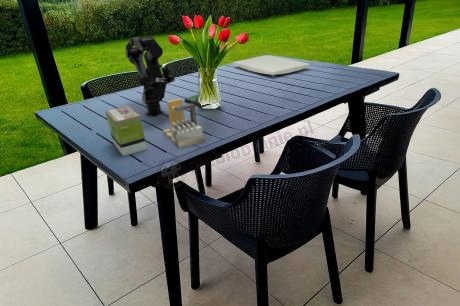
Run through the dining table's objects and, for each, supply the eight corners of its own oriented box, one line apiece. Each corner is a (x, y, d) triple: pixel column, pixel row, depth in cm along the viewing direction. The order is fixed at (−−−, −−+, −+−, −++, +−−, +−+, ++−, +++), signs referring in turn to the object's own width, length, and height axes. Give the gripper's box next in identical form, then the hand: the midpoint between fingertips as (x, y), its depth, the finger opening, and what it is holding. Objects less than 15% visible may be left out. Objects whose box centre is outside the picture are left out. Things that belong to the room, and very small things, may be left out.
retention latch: (170, 129, 152) (165, 100, 146) (183, 126, 155) (179, 97, 149) (175, 134, 148) (170, 104, 142) (188, 130, 150) (184, 101, 145)
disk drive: (216, 103, 188) (199, 98, 198) (216, 98, 187) (198, 93, 197) (200, 109, 182) (184, 103, 192) (200, 103, 181) (183, 98, 191)
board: (233, 68, 258) (232, 62, 256) (268, 61, 273) (268, 55, 271) (271, 79, 223) (271, 72, 221) (309, 70, 238) (310, 63, 236)
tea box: (112, 144, 147) (104, 110, 141) (135, 137, 152) (129, 104, 145) (122, 157, 135) (114, 120, 129) (147, 149, 140) (141, 114, 133)
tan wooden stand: (163, 133, 154) (158, 102, 147) (186, 127, 158) (182, 96, 152) (179, 148, 139) (175, 114, 133) (205, 141, 144) (201, 107, 137)
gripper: (153, 71, 171) (162, 102, 172) (125, 70, 155) (135, 104, 155) (170, 63, 165) (180, 95, 166) (143, 61, 149) (153, 97, 150)
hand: (162, 98), depth 159 cm, fingers closed
